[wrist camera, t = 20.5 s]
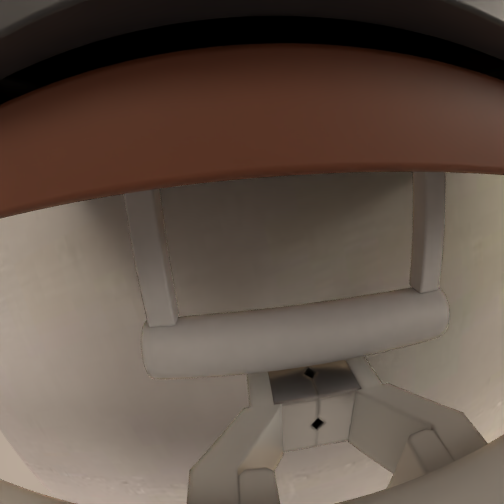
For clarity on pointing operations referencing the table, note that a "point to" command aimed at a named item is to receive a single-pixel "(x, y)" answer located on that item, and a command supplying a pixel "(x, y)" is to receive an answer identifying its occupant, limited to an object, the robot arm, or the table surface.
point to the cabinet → (223, 6)
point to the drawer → (256, 159)
